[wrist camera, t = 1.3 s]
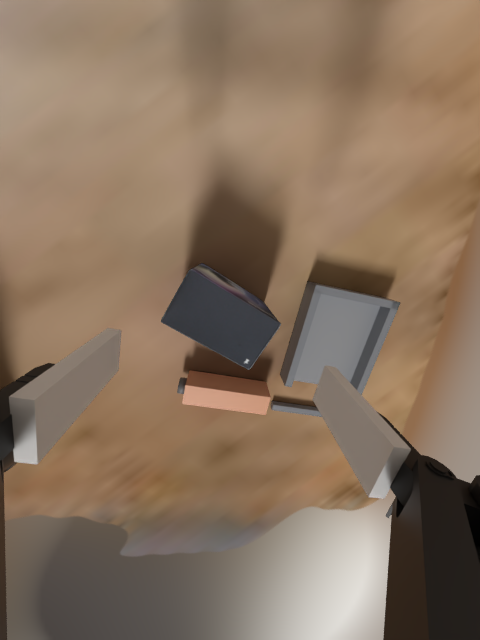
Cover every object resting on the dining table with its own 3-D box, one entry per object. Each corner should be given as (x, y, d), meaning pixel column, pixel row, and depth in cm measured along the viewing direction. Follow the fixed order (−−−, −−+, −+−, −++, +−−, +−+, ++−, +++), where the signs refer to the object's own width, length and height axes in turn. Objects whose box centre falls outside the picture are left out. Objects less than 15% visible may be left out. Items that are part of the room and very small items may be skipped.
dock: (270, 405, 38) (274, 419, 35) (307, 281, 32) (316, 284, 29) (337, 415, 40) (347, 429, 37) (384, 297, 34) (400, 302, 31)
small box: (267, 300, 33) (285, 323, 23) (242, 336, 34) (249, 373, 24) (201, 259, 31) (190, 265, 21) (178, 300, 32) (157, 324, 22)
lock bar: (180, 386, 36) (175, 402, 32) (182, 369, 35) (177, 384, 31) (261, 397, 37) (265, 414, 34) (265, 381, 36) (270, 397, 33)
